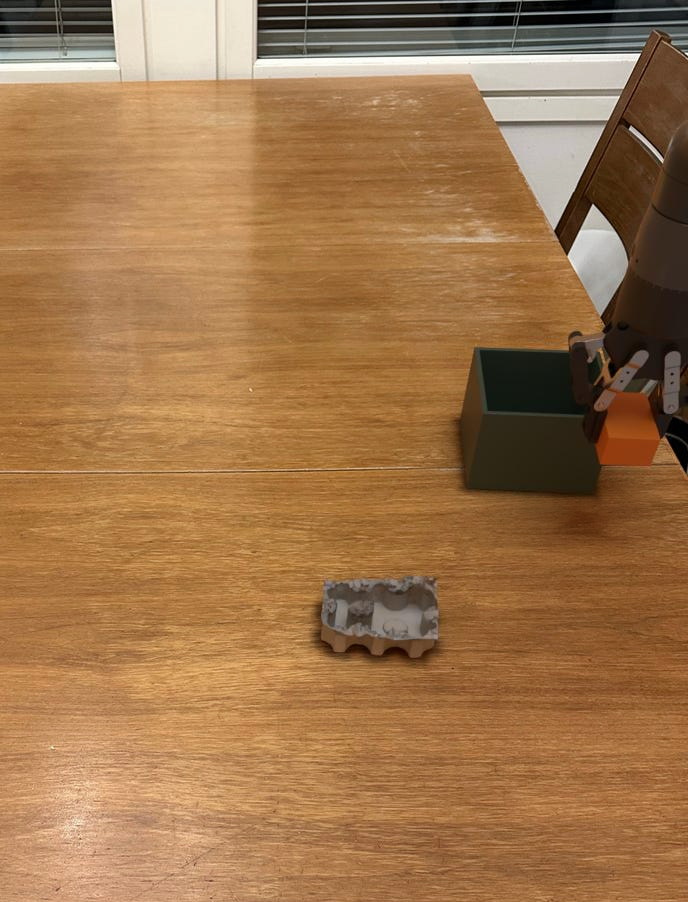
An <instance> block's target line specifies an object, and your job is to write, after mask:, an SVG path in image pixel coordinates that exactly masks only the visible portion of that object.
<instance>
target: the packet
mask: <svg viewBox="0 0 688 902" xmlns="http://www.w3.org/2000/svg"><path fill="white" fill-rule="evenodd" d="M607 410H608V414H607V417H606V420H605V422H604V425H603V428H602V431H601V434H600V437H599V440H598V443H597V444H595V446H596V450H597V454H598V458H599V462H600V464H603V466H604V465H607V466H629V467H630V466H631V467H651V466H652V464H653V461H654V459H655V456H656V453H657V450H658V448H659V445H660V442H661V441H662V439H660V436H659V433H658V429H657V426H656V423H655V421H654V418H653V415H652V412H651V404H650V401H649V398H648V395H647V393H646V392H640V393H628V392H621V393H618V394H617V395H616V396H615V398H614V399H613V401H612V402H611V403H610V405H609V406H608V408H607Z"/></svg>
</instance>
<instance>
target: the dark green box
mask: <svg viewBox="0 0 688 902" xmlns="http://www.w3.org/2000/svg"><path fill="white" fill-rule="evenodd" d="M587 364H588V381H589V383H590V384H593V385H594V383H595V382H596V380H597V379H598V377H599V376H600V374H601V372H602V368H603V366H604V361H603V358H602V354H601V352H600V351H599V350H598V351H597V353H596V357H595V358H594V359H593V361H592V362H591V363H588V362H587ZM462 402H463V403H462V408H461V413H460V418H459V427H460V438H461V447H462V457H463V466H464V467H463V468H464V477H465V486H466V489H474V490H490V491H491V490H493V491H511V492H513V491H514V492H516V491H517V492H532V493H533V492H535V493H551V494H553V493H555V494H574V495H575V494H576V495H594V492H595V489H596V487H597V484H598V481H599V477H600V476H601V472H602V470H603V466H604V465H603V464H600V462H599V458H598V454H597V450H596V446H595V444H594V443H589V442H588V438H587V437H585V436H584V432H583V427H582V421H583V418H584V415H585V411H586V408H587V404H582V405H580V404H577V403H576V402H575V398H574V394H573V390H572V385H571V373H570V359H569V349H568V350H567V349H543V348H540V349H538V348H513V347H511V348H510V347H484V346H474V347H473V353H472V358H471V363H470V367H469V372H468V378H467V382H466V387H465V392H464V398H463V401H462Z"/></svg>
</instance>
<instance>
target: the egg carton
mask: <svg viewBox="0 0 688 902" xmlns="http://www.w3.org/2000/svg"><path fill="white" fill-rule="evenodd" d="M322 593H323V594H322V606H321V608H322V609H321V612H320V619H321V632H320V633H321V634H320V640H321V641H323V642H326V643H327V644H329V645H330V646H331V648H332V650H333V652H334V653H345V652H346V650H347V649H348V648H349V647H351V646H352V645H361V646H364V647H366V648H367V650H368V651H369V652H370V654H371V655H372V656H383V654H384V653H385V651H387V650H388V649H390V648H400V649H402V650H404V651H405V652H406V653H407V655H408V656H409V658H412V659H415V658H416V659H417V658H421V657H422V655H423V653H424V652H425V651H428V650H431V649H432V648H434V645H435V642H436V641H435V640H439V614H440V613H439V612H440V610H439V605H438V581H437V578H436V577H433V576H430V577H428V576H427V575H420V576H419V575H418V576H417V575H407V576H406V575H403V576H402V577H401V579H393V578H389V577H384V578H382V579H369V578H364V577H362V578H361V577H360V578H354V579H347V580H340V581H335V580H332V579H325V580H324V582H323V586H322Z"/></svg>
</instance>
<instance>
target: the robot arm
mask: <svg viewBox="0 0 688 902" xmlns="http://www.w3.org/2000/svg"><path fill="white" fill-rule="evenodd" d="M567 343H568V350H569V359H570V373H571V385H572V390H573V394H574V398H575V402H576V403H577V404H580V405H582V404H587V408H586V411H585V415H584V418H583V421H582V427H583V432H584V436H585V437H587V438H588V442H589V443H594V444H597V443H598V440H599V437H600V434H601V431H602V428H603V425H604V422H605V420H606V417H607V414H608V410H607V408H608V406H609V405H610V403H611V402H612V401H613V399H614V398H615V396H616V395H617V394H618V393H621V392H622V391H623V390H624V388H625V387H626V386H627V384H628V383H629V382H630V380H637V379H643V378H647V379H650V381H654V382H655V381H657V387H658V388H657V391H658V397H657V399H656V398H655V399H653V400H652V403H651V404H650V407H651V412H652V415H653V418H654V421H655V423H656V426H657V429H658V433H659V436H660V439H661V440H663V439H664V437H665V435H666V433H667V431H668V427H669V425H670V423H671V420H672V417H673V414H675V413H676V412H677V411H678V410H679V409H683V408H688V378H687V379H686V380H685V381H684V383H682V385H681V369H683V368H684V367H685V366H686V365H688V119H686V120H685V121H683V122H682V123H681V124H680V125H679V126H678V127H677V129H676V130H675V131H674V133H673V135H672V137H671V139H670V140H669V143H668V146H667V149H666V152H665V155H664V157H663V161H662V165H661V168H660V172H659V175H658V178H657V181H656V184H655V187H654V192H653V194H652V197H651V199H650V203H649V206H648V208H647V210H646V212H645V214H644V216H643V218H642V220H641V223H640V225H639V229H638V231H637V234H636V237H635V240H634V241H633V243H632V246H631V248H630V258H629V261H628V264H627V267H626V271H625V274H624V278H623V281H622V284H621V288H620V290H619V293H618V296H617V300H616V304H615V307H614V311H613V314H612V317H611V318H610V320H609V322H607V323H606V325H605V326H604V327H603V328H602V331H599V332H595V333H591V334H586V335H584V334H583V333H582V332H581V331H579V330H574V331H572V332H570V333H569V334H568V337H567ZM602 347H604V348H605V350H606V352H607V353H608V355H609V358H608V360H607V361H606V362H604V363H603V365H604V366H603V368H602V372H601V374H600V376H599V377H598V379H597V380H596V382H595V383H594V385H593V384H590V383H589V381H588V364H587V362H588V363H591V362H592V361H593V359H594V358H595V357H596V353H597V351H599V350H600V349H602Z"/></svg>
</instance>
